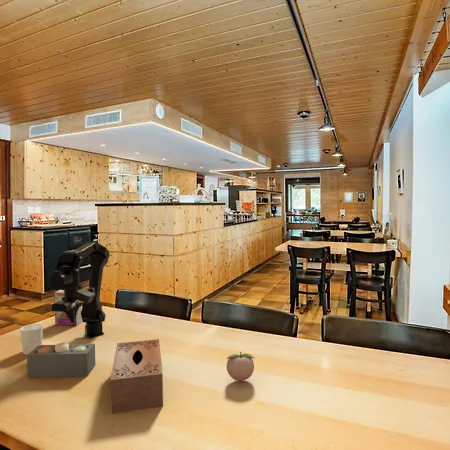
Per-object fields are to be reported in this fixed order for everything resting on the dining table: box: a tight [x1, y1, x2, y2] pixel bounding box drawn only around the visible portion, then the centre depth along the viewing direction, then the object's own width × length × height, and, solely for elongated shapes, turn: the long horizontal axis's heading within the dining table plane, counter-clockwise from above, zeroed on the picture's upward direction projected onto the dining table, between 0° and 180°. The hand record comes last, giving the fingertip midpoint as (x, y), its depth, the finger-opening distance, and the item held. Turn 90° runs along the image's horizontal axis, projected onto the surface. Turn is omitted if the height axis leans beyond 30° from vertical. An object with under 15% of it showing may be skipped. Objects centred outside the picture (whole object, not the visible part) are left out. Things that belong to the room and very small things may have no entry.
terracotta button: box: [37, 347, 52, 353], centre depth 118 cm, size 4×4×4 cm
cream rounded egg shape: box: [54, 341, 70, 352], centre depth 119 cm, size 4×4×4 cm
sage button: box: [73, 346, 86, 352], centre depth 119 cm, size 4×4×4 cm
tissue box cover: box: [109, 338, 164, 415], centre depth 109 cm, size 26×14×10 cm, turn 13°
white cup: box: [19, 323, 44, 356], centre depth 135 cm, size 8×8×10 cm
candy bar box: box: [53, 289, 82, 327], centre depth 165 cm, size 11×5×16 cm, turn 84°
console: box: [26, 343, 96, 379], centre depth 119 cm, size 8×20×8 cm, turn 93°
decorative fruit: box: [226, 351, 255, 382], centre depth 111 cm, size 9×8×10 cm
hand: (73, 322), depth 134 cm, fingers closed
